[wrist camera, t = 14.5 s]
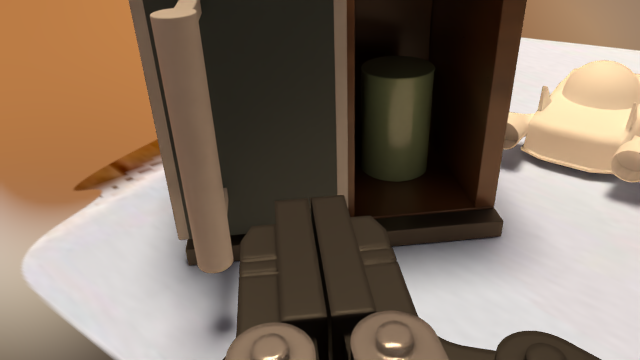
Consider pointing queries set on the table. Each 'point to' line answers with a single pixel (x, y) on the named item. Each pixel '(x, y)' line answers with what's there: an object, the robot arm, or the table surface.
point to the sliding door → (244, 109)
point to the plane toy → (586, 122)
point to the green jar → (396, 117)
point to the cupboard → (435, 115)
